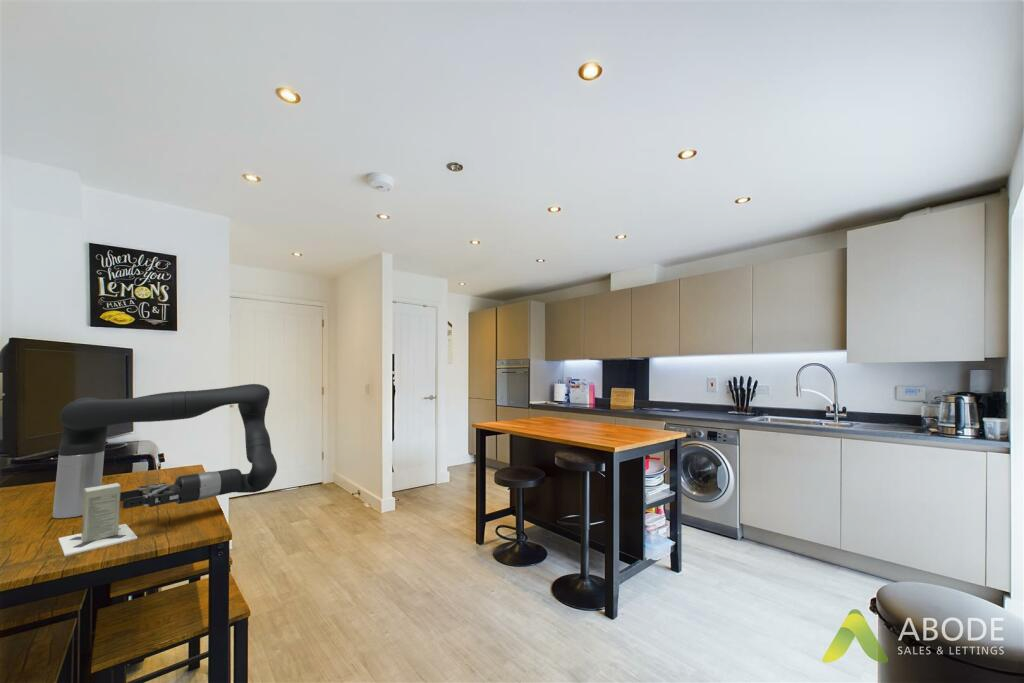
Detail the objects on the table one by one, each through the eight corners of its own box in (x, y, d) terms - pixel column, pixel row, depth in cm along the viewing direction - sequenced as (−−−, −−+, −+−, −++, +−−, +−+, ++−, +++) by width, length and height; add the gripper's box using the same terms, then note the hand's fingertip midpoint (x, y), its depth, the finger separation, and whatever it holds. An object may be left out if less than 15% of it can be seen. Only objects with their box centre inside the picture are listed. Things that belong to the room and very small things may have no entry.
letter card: (58, 539, 97) (58, 537, 97) (125, 525, 107) (125, 523, 107) (64, 556, 89) (65, 554, 89) (137, 538, 98) (137, 536, 98)
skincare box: (115, 530, 102) (119, 482, 103) (118, 535, 99) (122, 485, 100) (78, 538, 97) (83, 487, 98) (80, 543, 94) (85, 491, 95)
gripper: (191, 469, 118) (115, 480, 106) (207, 477, 110) (126, 491, 97) (189, 495, 118) (113, 509, 105) (205, 505, 109) (123, 522, 96)
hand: (119, 500), depth 101 cm, fingers open, 8 cm apart
